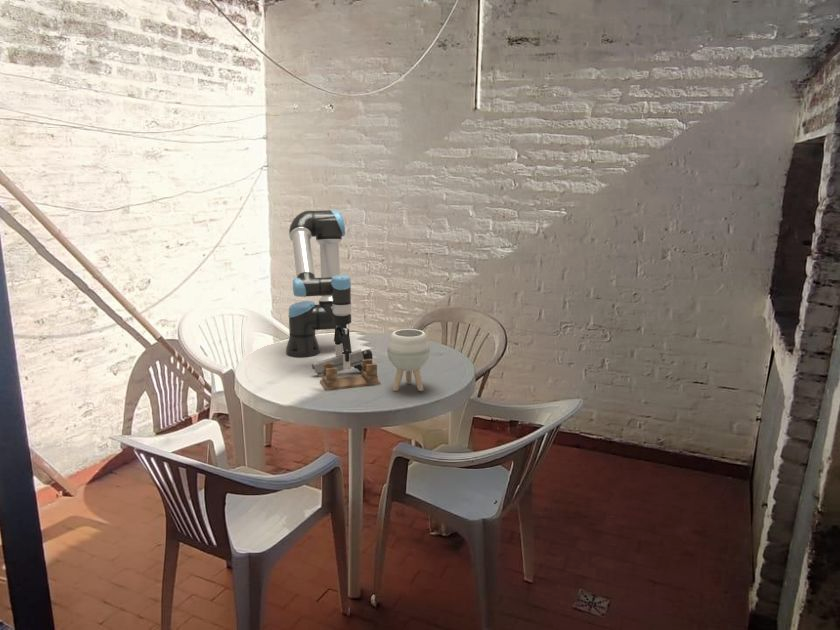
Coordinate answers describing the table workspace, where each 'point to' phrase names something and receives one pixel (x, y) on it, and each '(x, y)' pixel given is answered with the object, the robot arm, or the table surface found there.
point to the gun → (337, 361)
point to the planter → (408, 355)
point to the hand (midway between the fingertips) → (342, 364)
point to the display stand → (365, 379)
